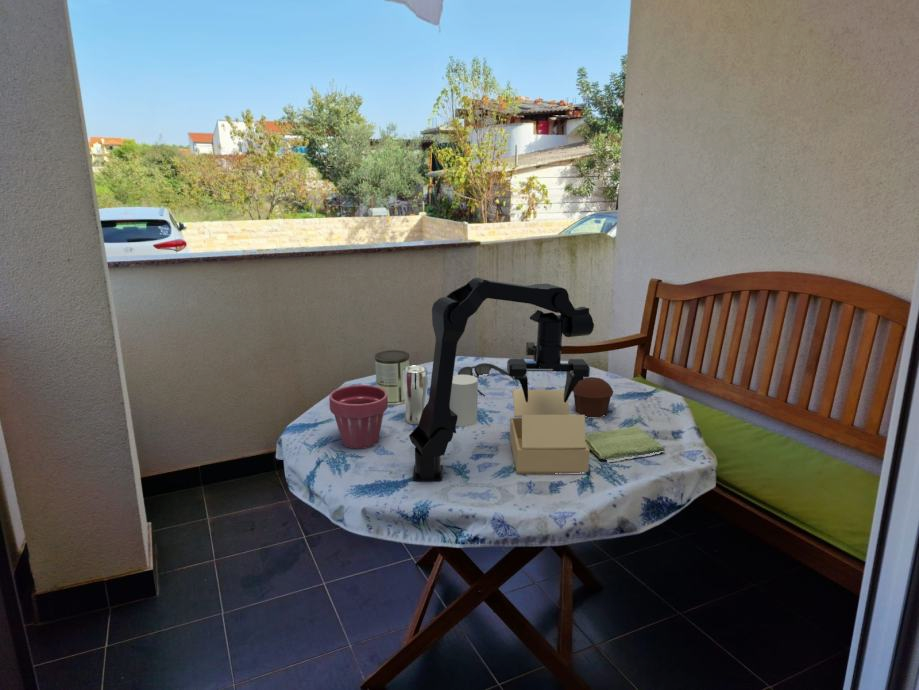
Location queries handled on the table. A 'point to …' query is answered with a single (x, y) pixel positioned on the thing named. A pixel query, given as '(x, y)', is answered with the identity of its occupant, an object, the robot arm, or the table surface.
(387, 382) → the coffee can
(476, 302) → the robot arm
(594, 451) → the washcloth
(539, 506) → the table surface
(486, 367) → the sunglasses
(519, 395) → the far flap
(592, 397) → the muffin
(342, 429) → the plant pot
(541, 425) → the near flap
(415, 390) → the silver metal cylinder
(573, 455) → the carton
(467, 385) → the off-white closed cylinder
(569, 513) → the table surface
